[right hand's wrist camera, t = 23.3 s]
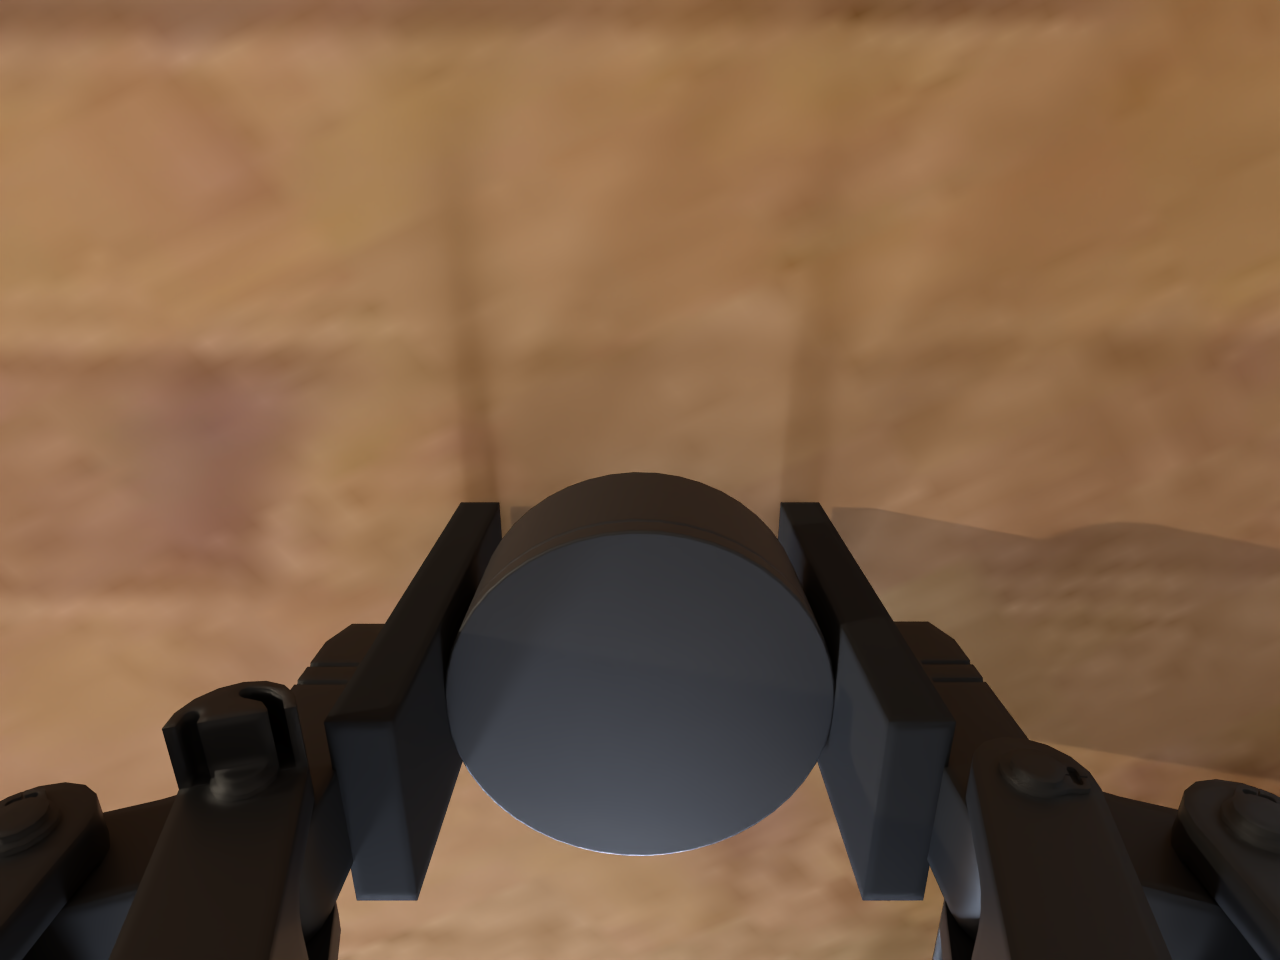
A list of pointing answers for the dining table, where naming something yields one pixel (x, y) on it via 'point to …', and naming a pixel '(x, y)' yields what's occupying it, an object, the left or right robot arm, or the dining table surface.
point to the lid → (639, 669)
